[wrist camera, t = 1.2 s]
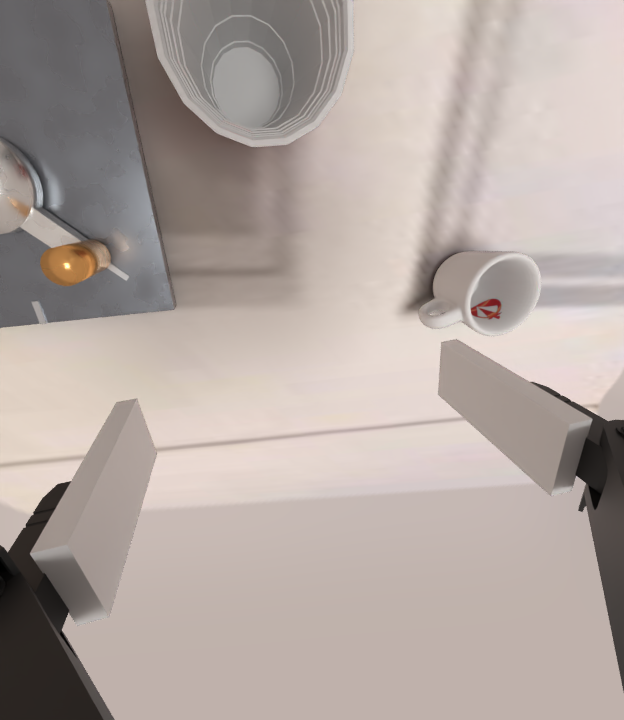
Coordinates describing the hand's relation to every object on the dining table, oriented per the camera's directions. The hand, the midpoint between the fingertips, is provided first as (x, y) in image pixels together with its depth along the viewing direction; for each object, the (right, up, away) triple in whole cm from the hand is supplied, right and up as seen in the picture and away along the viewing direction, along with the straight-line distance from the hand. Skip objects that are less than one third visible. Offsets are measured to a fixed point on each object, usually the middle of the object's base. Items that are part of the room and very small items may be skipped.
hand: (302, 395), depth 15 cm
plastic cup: (-5, +24, +14) cm, 28 cm away
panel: (-23, +16, +13) cm, 31 cm away
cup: (+15, +10, +25) cm, 31 cm away
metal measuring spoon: (-22, +13, +12) cm, 28 cm away
